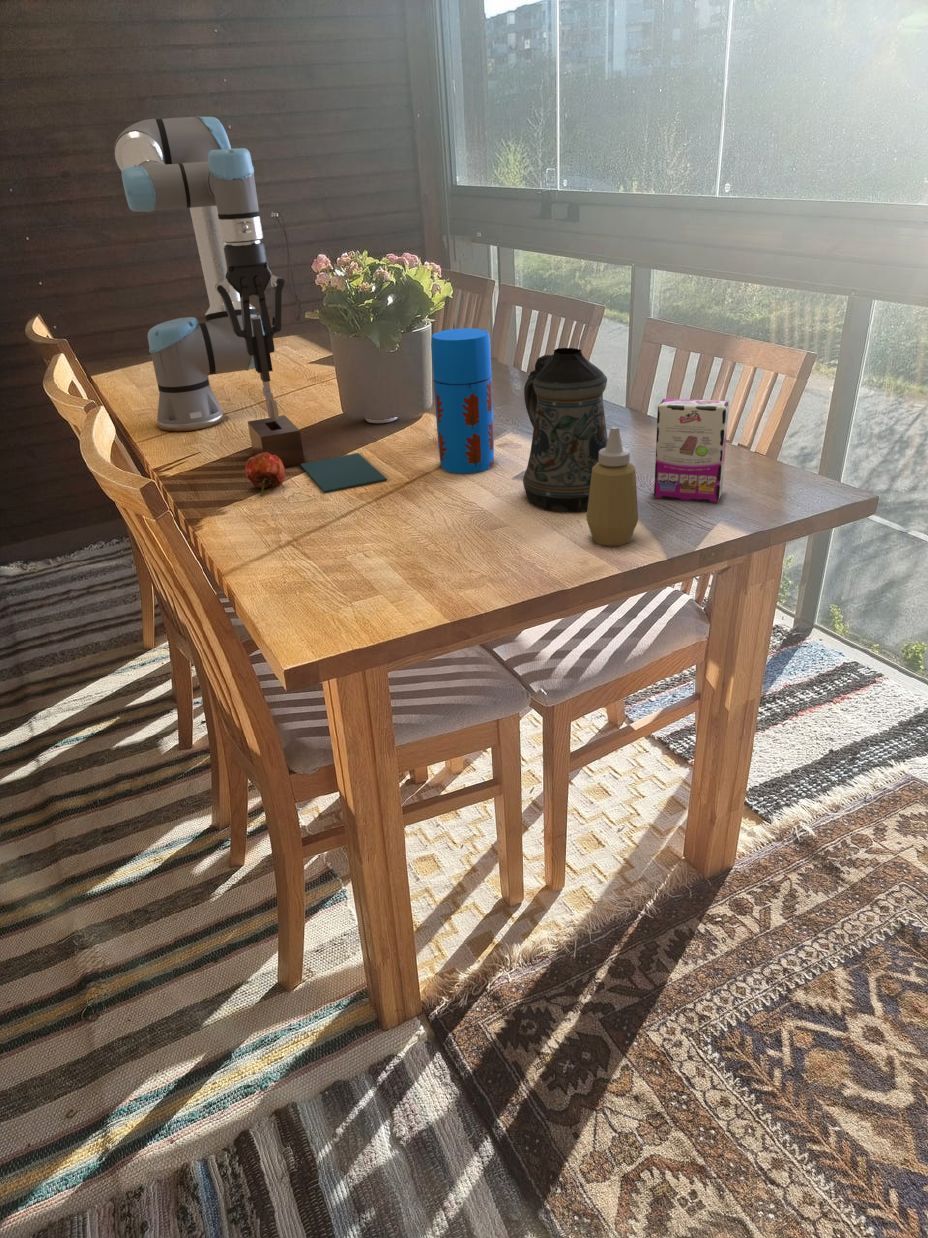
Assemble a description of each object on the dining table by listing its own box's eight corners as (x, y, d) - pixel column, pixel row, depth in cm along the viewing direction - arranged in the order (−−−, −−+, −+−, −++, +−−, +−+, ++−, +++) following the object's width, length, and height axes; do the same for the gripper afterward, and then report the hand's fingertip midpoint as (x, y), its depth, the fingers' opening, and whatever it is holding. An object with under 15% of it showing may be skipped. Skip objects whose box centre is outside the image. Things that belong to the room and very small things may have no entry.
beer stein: (592, 519, 146) (595, 367, 134) (492, 501, 156) (486, 358, 144) (631, 487, 158) (637, 344, 146) (536, 472, 168) (534, 337, 156)
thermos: (501, 457, 177) (497, 328, 164) (484, 475, 168) (478, 340, 156) (450, 454, 180) (442, 327, 168) (431, 471, 171) (421, 339, 159)
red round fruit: (286, 504, 166) (297, 459, 170) (267, 483, 160) (278, 437, 164) (252, 506, 169) (263, 462, 173) (232, 485, 163) (244, 440, 166)
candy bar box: (722, 493, 153) (731, 399, 145) (718, 503, 149) (727, 408, 141) (657, 488, 157) (662, 396, 149) (652, 498, 153) (657, 404, 145)
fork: (265, 414, 182) (248, 316, 172) (272, 413, 182) (257, 315, 173) (271, 421, 177) (255, 320, 168) (279, 420, 178) (263, 319, 168)
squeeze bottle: (581, 531, 142) (582, 421, 134) (630, 527, 143) (634, 417, 134) (591, 551, 135) (593, 437, 127) (643, 547, 136) (649, 433, 127)
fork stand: (253, 453, 188) (247, 421, 184) (289, 447, 190) (284, 415, 187) (266, 470, 177) (260, 437, 174) (305, 463, 180) (300, 430, 176)
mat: (300, 465, 179) (299, 463, 179) (358, 454, 183) (358, 452, 183) (324, 492, 164) (324, 490, 164) (386, 480, 168) (386, 478, 168)
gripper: (207, 248, 158) (231, 380, 170) (286, 240, 163) (304, 369, 174) (200, 244, 164) (224, 372, 176) (277, 237, 169) (294, 361, 181)
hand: (264, 370), depth 175 cm, fingers closed on fork, 1 cm apart
